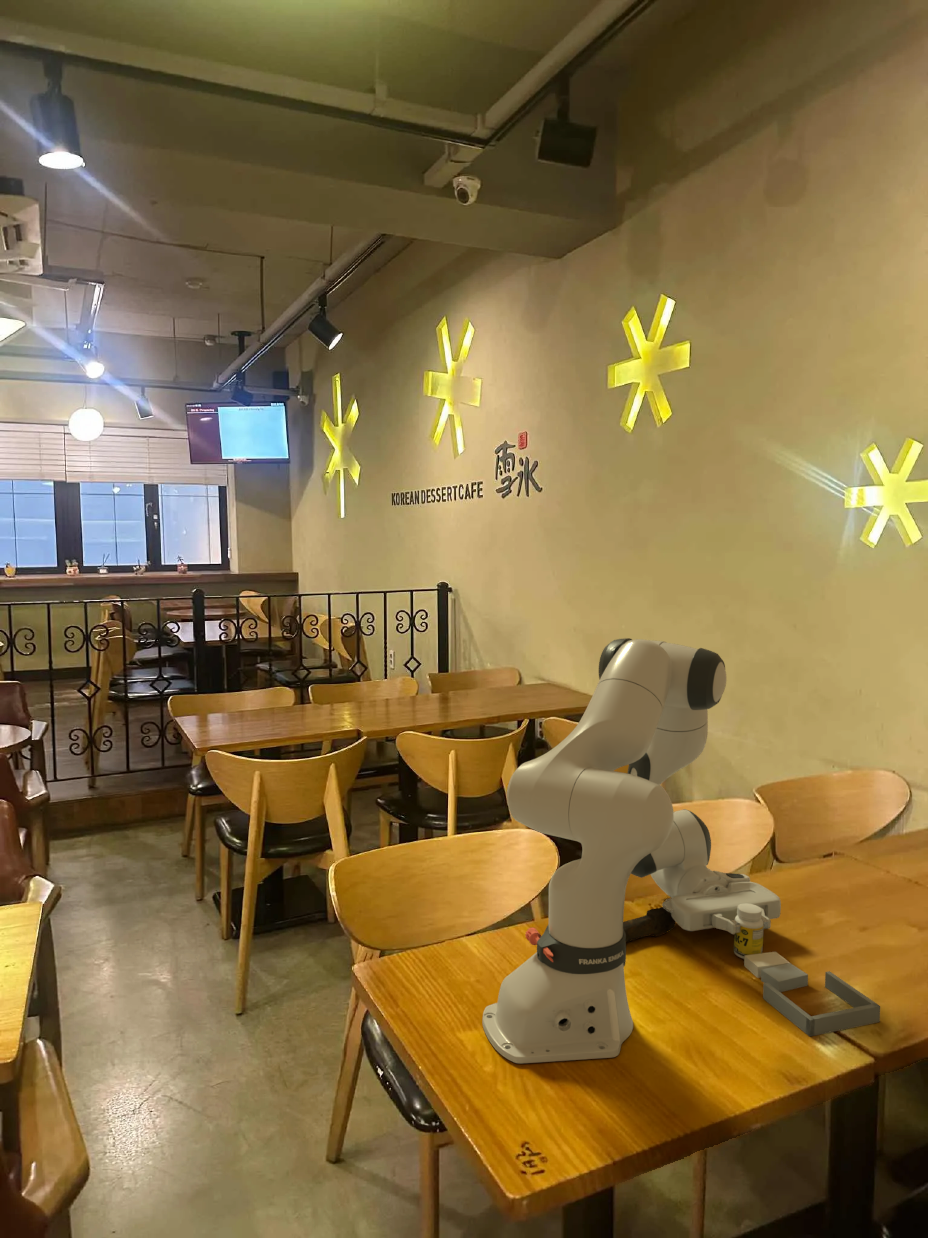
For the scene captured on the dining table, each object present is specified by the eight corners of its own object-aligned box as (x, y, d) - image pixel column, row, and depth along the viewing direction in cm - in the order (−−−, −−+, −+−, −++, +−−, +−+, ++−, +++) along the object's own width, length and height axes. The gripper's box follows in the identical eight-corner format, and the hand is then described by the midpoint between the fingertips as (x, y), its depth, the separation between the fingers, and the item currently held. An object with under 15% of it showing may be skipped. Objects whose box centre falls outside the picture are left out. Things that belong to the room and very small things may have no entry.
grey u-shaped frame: (809, 1036, 121) (810, 1020, 120) (763, 998, 131) (763, 983, 131) (879, 1022, 124) (880, 1006, 124) (829, 986, 134) (829, 971, 134)
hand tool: (598, 957, 145) (599, 931, 144) (585, 946, 148) (586, 922, 148) (684, 935, 153) (685, 911, 152) (670, 926, 156) (670, 902, 156)
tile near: (778, 994, 133) (778, 981, 132) (761, 982, 136) (761, 969, 136) (807, 987, 135) (808, 974, 134) (789, 975, 138) (790, 963, 138)
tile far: (757, 979, 137) (757, 967, 137) (744, 968, 141) (744, 955, 141) (789, 975, 138) (789, 963, 138) (775, 964, 142) (775, 951, 142)
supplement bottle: (727, 951, 146) (729, 904, 145) (748, 945, 147) (750, 900, 147) (747, 963, 141) (748, 916, 140) (768, 958, 143) (770, 911, 142)
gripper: (658, 885, 153) (700, 917, 140) (752, 873, 159) (801, 902, 146) (657, 918, 153) (699, 953, 140) (751, 904, 159) (800, 937, 146)
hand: (752, 927), depth 143 cm, fingers closed on supplement bottle, 5 cm apart
